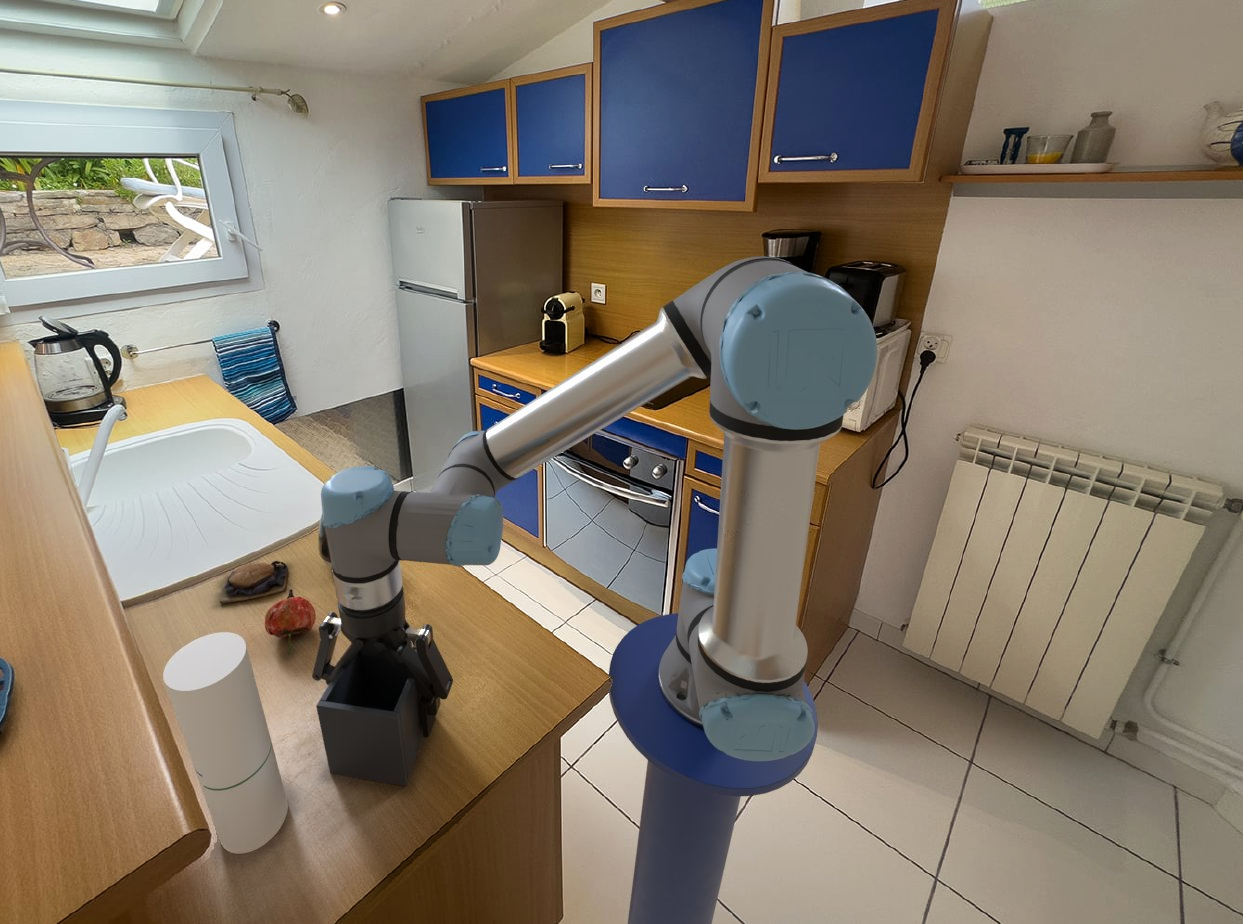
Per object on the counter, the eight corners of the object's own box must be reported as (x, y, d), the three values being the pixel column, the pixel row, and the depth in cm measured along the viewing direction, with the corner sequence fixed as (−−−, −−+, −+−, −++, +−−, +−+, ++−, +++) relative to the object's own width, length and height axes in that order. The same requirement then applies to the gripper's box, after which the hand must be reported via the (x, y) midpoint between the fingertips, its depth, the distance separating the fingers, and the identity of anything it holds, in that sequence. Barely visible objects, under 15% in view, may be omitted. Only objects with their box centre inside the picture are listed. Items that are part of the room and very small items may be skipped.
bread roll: (218, 607, 95) (213, 591, 94) (226, 576, 103) (222, 560, 101) (285, 593, 99) (281, 577, 97) (288, 564, 106) (285, 548, 105)
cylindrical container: (266, 776, 69) (224, 622, 59) (300, 811, 65) (260, 653, 56) (207, 827, 64) (149, 666, 54) (239, 869, 60) (184, 704, 50)
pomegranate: (320, 654, 89) (326, 590, 94) (300, 650, 83) (308, 582, 88) (274, 659, 89) (283, 595, 94) (250, 655, 83) (261, 586, 88)
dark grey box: (315, 706, 65) (355, 640, 74) (329, 773, 69) (365, 704, 79) (396, 718, 63) (427, 650, 73) (405, 787, 68) (433, 714, 77)
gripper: (260, 602, 64) (292, 734, 72) (455, 627, 61) (464, 762, 69) (297, 560, 71) (322, 685, 79) (474, 581, 67) (480, 709, 76)
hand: (388, 721), depth 74 cm, fingers open, 11 cm apart
